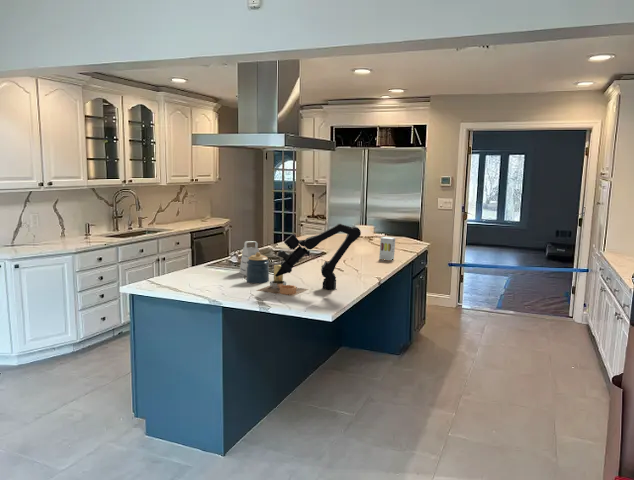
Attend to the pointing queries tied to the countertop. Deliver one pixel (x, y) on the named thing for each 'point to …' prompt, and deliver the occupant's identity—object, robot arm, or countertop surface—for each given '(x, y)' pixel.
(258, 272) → the canister
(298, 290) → the walnut board
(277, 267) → the brass shaft
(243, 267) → the grater
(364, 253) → the countertop surface
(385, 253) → the supplement box
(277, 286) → the steel stand collar
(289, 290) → the ring
